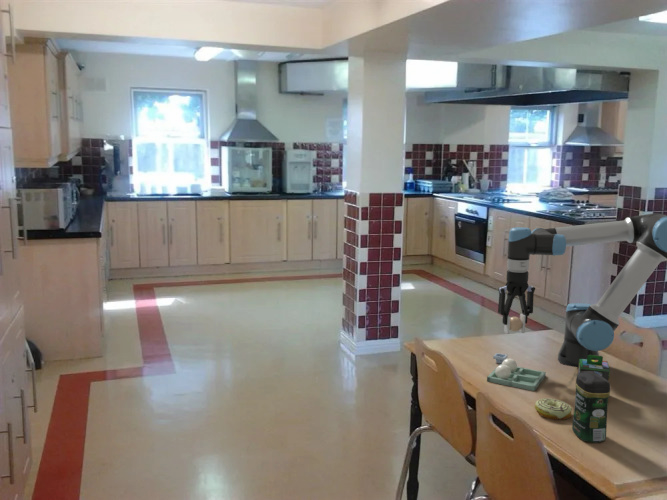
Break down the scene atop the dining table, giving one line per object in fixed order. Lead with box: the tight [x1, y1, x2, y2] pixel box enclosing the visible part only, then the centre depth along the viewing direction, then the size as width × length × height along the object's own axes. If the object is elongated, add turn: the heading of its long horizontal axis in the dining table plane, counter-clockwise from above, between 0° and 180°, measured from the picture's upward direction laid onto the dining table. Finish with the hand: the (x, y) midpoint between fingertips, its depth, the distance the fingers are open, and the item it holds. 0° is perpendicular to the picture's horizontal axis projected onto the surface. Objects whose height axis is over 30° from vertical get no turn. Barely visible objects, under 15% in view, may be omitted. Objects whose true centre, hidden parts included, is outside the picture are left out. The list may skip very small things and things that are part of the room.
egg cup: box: [492, 352, 508, 364], centre depth 235 cm, size 4×4×4 cm
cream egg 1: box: [501, 357, 518, 373], centre depth 223 cm, size 5×5×5 cm
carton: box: [486, 363, 547, 392], centre depth 218 cm, size 16×16×2 cm
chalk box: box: [577, 355, 611, 382], centre depth 205 cm, size 9×9×15 cm
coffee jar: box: [571, 371, 611, 444], centre depth 176 cm, size 10×8×19 cm
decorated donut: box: [534, 397, 573, 421], centre depth 192 cm, size 10×11×4 cm
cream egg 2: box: [494, 364, 511, 380], centre depth 217 cm, size 5×5×5 cm
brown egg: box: [510, 316, 522, 332], centre depth 226 cm, size 5×5×5 cm
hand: (514, 332), depth 227 cm, fingers closed on brown egg, 5 cm apart
